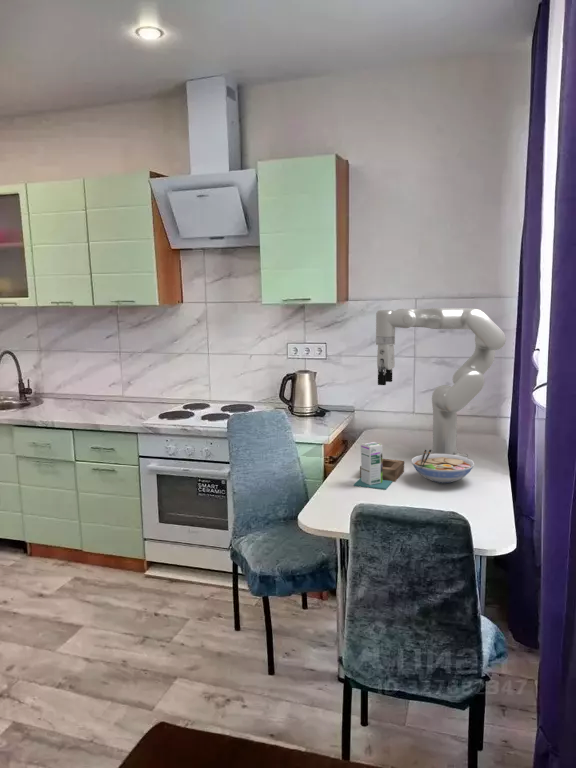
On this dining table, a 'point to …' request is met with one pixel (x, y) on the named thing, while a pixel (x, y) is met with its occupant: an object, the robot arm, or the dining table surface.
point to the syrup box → (371, 463)
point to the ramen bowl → (442, 466)
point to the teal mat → (383, 485)
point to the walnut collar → (391, 469)
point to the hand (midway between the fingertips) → (385, 383)
